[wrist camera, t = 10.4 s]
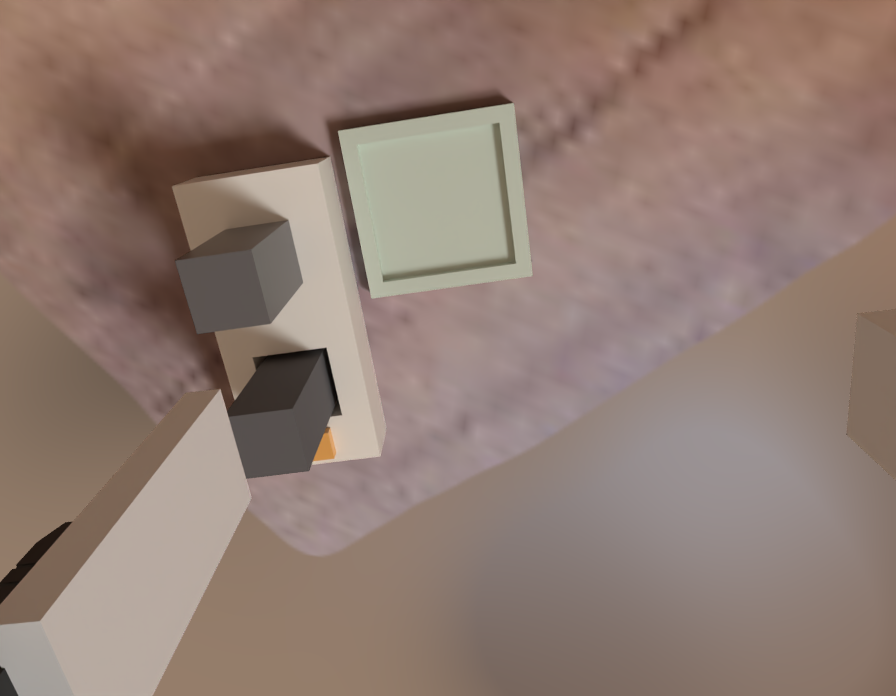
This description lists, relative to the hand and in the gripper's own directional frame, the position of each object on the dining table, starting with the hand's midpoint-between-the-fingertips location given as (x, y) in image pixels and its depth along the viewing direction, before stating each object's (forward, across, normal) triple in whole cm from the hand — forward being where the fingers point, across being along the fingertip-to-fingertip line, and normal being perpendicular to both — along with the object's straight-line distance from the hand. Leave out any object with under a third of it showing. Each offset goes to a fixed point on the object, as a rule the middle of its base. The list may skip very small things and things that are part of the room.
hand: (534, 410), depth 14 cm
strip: (+32, -14, -7) cm, 36 cm away
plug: (+31, -14, -11) cm, 36 cm away
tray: (+32, -3, -1) cm, 32 cm away
